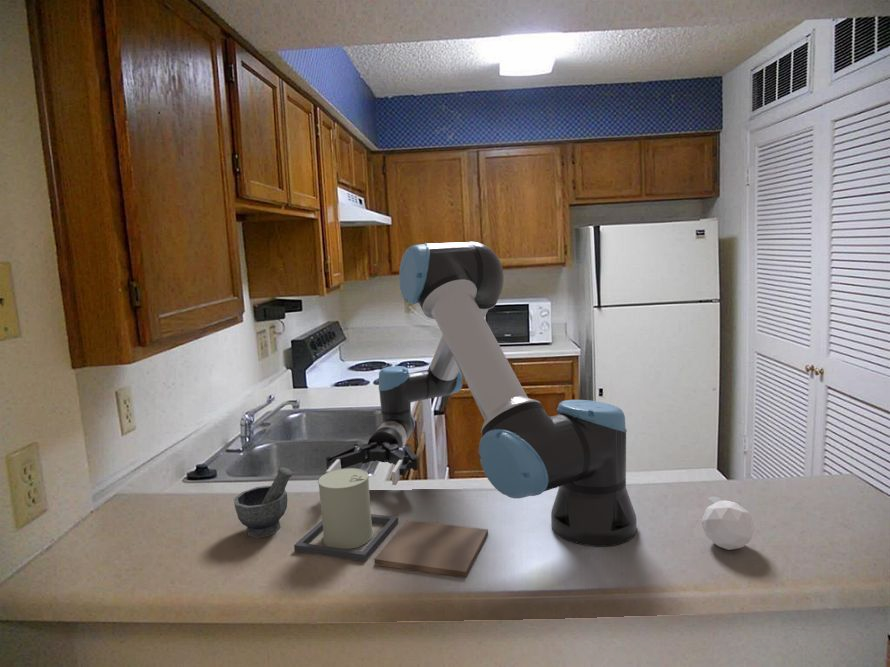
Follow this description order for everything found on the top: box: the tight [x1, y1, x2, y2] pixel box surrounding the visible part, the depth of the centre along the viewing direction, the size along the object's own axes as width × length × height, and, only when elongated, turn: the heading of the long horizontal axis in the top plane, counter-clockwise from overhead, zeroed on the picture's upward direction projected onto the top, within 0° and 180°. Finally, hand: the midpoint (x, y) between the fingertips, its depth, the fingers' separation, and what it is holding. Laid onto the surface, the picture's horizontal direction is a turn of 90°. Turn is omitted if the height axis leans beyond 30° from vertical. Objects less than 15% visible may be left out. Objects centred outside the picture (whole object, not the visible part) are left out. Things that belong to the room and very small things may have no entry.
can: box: [317, 467, 374, 550], centre depth 104 cm, size 9×9×12 cm
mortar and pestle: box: [233, 466, 293, 539], centre depth 109 cm, size 11×9×12 cm
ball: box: [701, 500, 756, 551], centre depth 95 cm, size 8×8×8 cm
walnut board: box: [373, 519, 489, 578], centre depth 99 cm, size 16×14×1 cm
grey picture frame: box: [293, 513, 399, 562], centre depth 105 cm, size 14×14×1 cm
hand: (360, 478), depth 114 cm, fingers open, 13 cm apart
